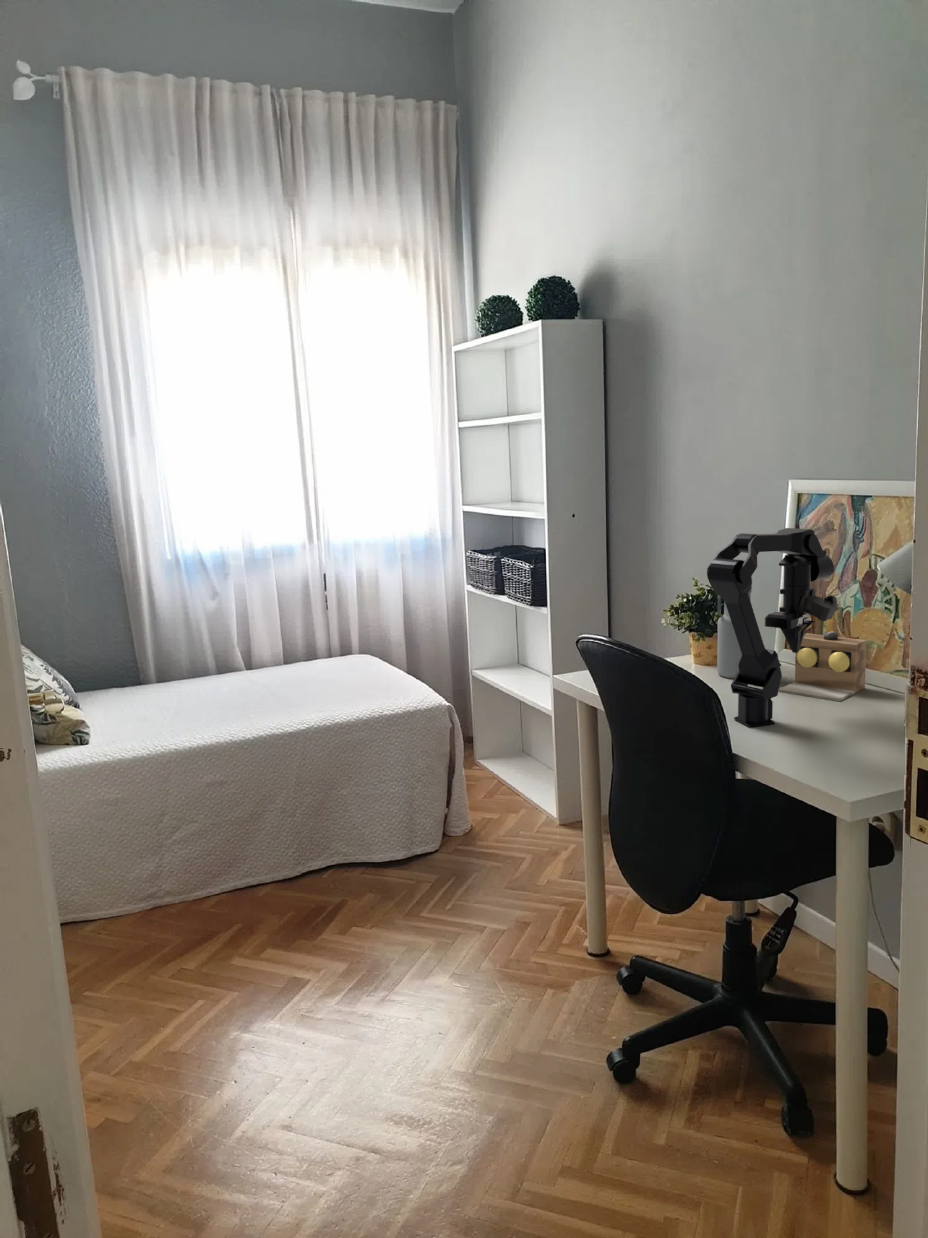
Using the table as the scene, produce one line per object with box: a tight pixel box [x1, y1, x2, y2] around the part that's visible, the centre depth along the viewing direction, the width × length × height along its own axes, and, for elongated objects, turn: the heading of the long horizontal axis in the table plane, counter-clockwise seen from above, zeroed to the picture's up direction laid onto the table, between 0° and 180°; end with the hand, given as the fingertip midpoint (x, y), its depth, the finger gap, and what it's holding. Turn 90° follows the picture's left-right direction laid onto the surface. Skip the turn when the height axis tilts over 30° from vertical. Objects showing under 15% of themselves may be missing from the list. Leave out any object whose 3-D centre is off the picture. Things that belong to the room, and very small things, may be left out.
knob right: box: [829, 651, 851, 672], centre depth 231 cm, size 8×5×5 cm, turn 135°
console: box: [778, 630, 868, 702], centre depth 232 cm, size 14×15×14 cm
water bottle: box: [716, 583, 753, 680], centre depth 248 cm, size 10×10×28 cm
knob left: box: [797, 647, 819, 668], centre depth 237 cm, size 8×5×5 cm, turn 135°
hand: (795, 652), depth 217 cm, fingers closed
